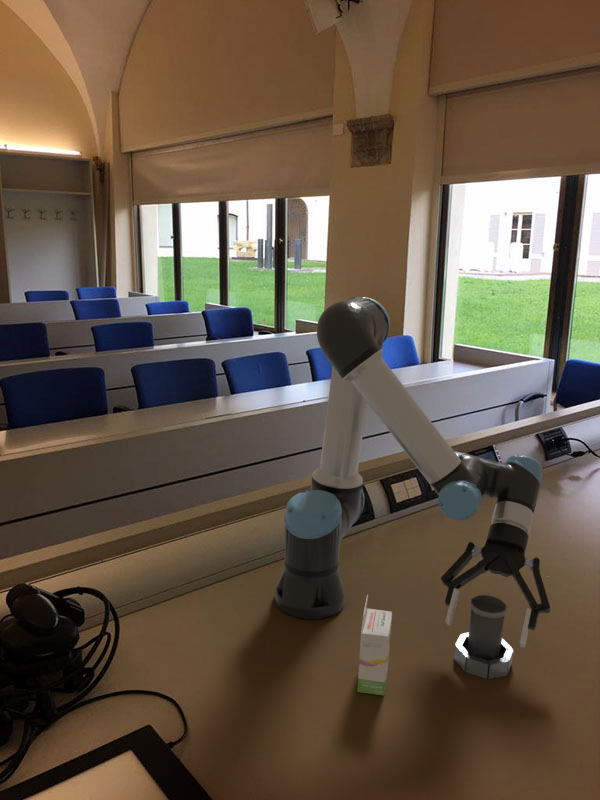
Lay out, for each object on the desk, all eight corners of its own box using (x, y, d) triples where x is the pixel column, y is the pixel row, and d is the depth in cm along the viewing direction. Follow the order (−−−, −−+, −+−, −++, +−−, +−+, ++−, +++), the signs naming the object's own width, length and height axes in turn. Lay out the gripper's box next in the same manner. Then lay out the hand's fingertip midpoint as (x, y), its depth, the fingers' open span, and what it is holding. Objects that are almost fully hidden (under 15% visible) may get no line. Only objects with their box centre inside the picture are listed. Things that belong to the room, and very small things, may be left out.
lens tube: (461, 664, 127) (467, 607, 124) (469, 647, 132) (475, 591, 129) (495, 675, 124) (502, 617, 121) (503, 657, 129) (509, 600, 126)
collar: (449, 667, 126) (450, 652, 125) (463, 639, 134) (464, 626, 134) (504, 684, 121) (505, 670, 120) (514, 655, 130) (516, 641, 129)
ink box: (385, 697, 117) (390, 621, 113) (356, 692, 118) (360, 617, 114) (388, 667, 125) (393, 595, 122) (362, 663, 126) (366, 591, 123)
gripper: (576, 551, 131) (555, 660, 122) (450, 523, 142) (422, 620, 133) (576, 536, 125) (554, 650, 116) (445, 508, 137) (415, 609, 127)
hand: (484, 634), depth 125 cm, fingers open, 13 cm apart
